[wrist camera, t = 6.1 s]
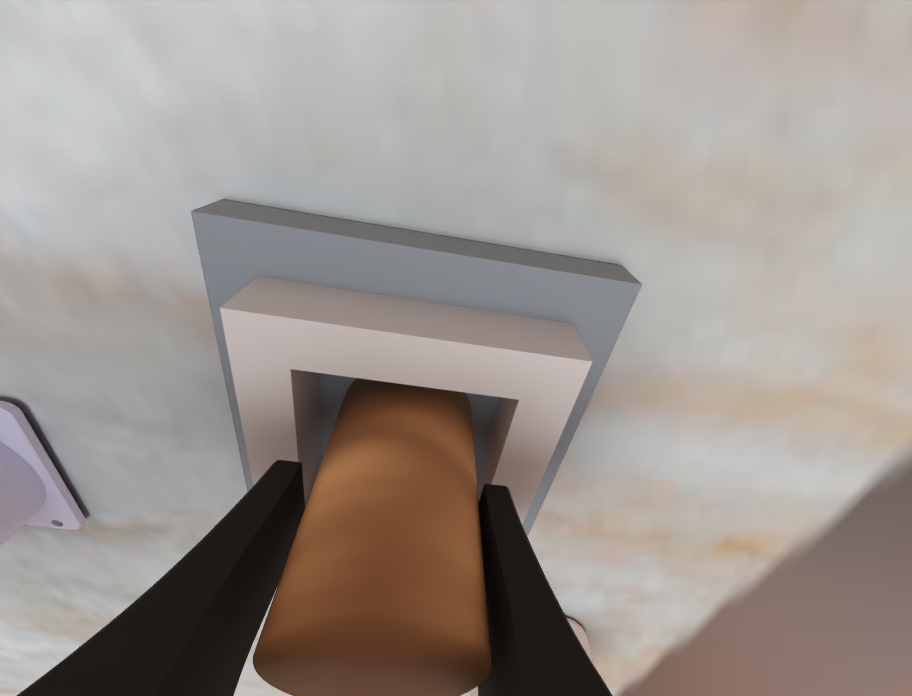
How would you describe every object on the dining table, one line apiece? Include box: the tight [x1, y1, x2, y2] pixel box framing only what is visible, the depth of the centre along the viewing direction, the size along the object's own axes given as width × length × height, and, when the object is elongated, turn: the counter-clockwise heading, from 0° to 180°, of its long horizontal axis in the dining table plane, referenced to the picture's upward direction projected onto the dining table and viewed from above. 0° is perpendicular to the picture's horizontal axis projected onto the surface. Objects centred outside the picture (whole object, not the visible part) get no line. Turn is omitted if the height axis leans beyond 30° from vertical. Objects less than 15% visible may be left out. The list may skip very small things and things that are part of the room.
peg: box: [253, 378, 492, 696], centre depth 10 cm, size 4×4×7 cm
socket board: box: [191, 199, 642, 534], centre depth 13 cm, size 12×12×4 cm
